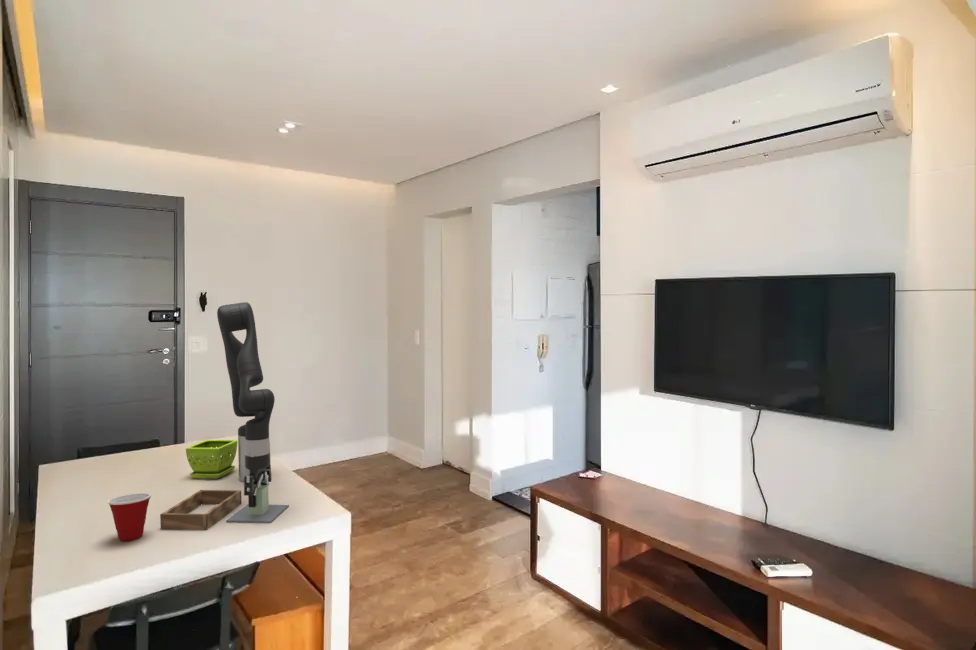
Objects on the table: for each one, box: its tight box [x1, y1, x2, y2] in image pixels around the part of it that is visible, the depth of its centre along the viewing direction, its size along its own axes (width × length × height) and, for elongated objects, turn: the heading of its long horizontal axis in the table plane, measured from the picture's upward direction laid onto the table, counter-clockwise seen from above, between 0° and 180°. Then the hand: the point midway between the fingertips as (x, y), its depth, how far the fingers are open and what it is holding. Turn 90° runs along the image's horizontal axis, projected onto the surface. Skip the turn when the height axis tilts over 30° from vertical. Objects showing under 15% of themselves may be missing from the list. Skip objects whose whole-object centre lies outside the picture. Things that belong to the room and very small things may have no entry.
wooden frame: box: [159, 489, 242, 531], centre depth 180 cm, size 22×14×4 cm, turn 178°
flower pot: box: [185, 439, 238, 480], centre depth 222 cm, size 14×14×13 cm
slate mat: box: [225, 503, 290, 524], centre depth 182 cm, size 14×14×1 cm
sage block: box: [249, 485, 270, 515], centre depth 182 cm, size 4×4×8 cm
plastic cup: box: [106, 492, 152, 542], centre depth 164 cm, size 11×11×12 cm
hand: (258, 502), depth 181 cm, fingers open, 8 cm apart
